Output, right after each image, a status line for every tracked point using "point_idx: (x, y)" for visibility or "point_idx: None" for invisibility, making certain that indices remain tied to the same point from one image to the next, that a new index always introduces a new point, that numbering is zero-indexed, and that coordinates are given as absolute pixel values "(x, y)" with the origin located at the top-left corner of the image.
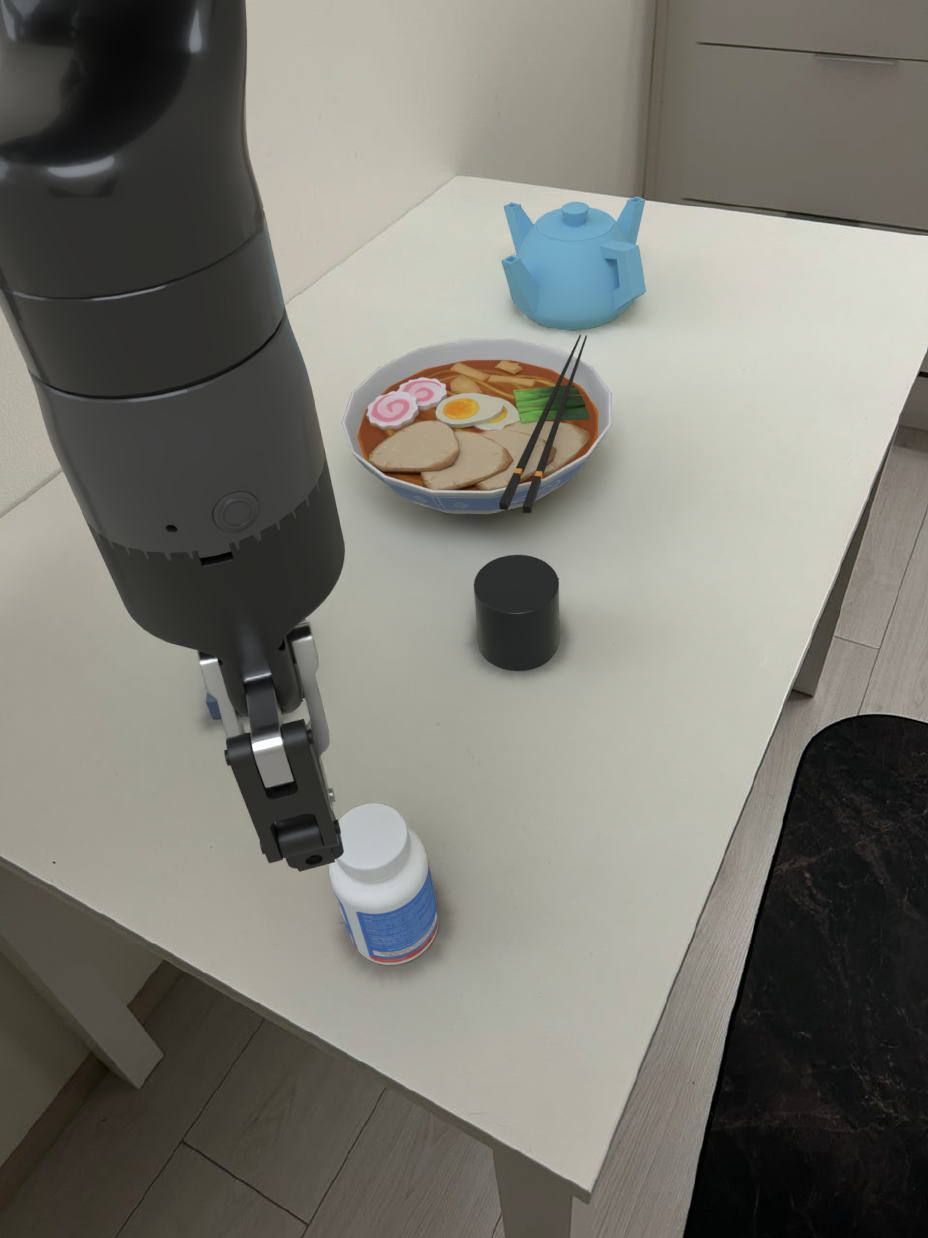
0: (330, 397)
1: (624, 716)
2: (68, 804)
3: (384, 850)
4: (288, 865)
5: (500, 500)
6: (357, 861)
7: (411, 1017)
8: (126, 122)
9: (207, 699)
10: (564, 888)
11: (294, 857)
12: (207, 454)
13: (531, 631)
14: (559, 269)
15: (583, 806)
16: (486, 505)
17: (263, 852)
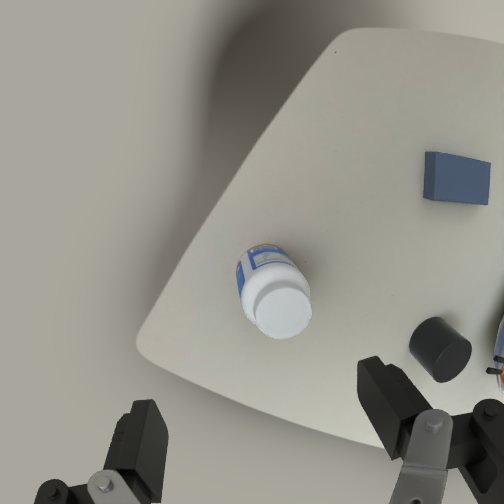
0: None
1: None
2: (375, 59)
3: (269, 325)
4: (133, 402)
5: (499, 357)
6: (263, 307)
7: (205, 279)
8: None
9: (437, 153)
10: (272, 358)
11: (113, 438)
12: None
13: (424, 362)
14: None
15: (318, 369)
16: (502, 336)
17: (43, 491)
